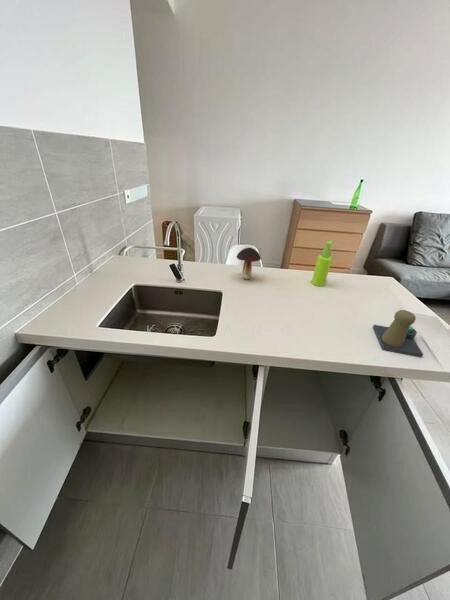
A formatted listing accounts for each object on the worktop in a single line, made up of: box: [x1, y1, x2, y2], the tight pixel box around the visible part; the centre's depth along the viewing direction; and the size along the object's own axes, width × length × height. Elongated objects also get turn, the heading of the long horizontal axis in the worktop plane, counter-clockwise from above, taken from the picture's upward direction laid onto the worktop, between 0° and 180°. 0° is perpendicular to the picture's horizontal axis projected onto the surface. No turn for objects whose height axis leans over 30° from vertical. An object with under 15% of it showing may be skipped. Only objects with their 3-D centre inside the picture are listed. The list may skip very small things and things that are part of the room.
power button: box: [408, 325, 414, 333], centre depth 81 cm, size 3×3×2 cm
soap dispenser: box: [311, 239, 334, 287], centre depth 109 cm, size 6×7×20 cm
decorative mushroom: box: [236, 247, 262, 280], centre depth 110 cm, size 11×11×15 cm
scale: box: [372, 324, 424, 358], centre depth 79 cm, size 12×13×3 cm
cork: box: [382, 309, 417, 347], centre depth 75 cm, size 6×6×11 cm
